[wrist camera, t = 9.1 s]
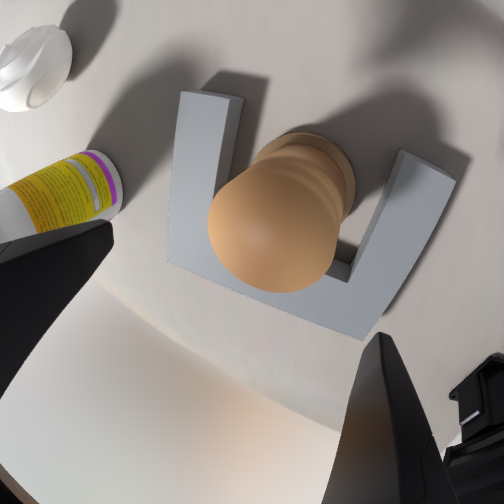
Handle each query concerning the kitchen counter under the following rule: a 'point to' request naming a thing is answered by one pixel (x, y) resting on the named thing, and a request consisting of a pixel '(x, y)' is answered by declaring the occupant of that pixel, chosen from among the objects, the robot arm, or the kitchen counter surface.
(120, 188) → the supplement bottle
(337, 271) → the notched board
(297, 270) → the wooden drawer knob
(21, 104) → the white rounded piece
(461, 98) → the kitchen counter surface
